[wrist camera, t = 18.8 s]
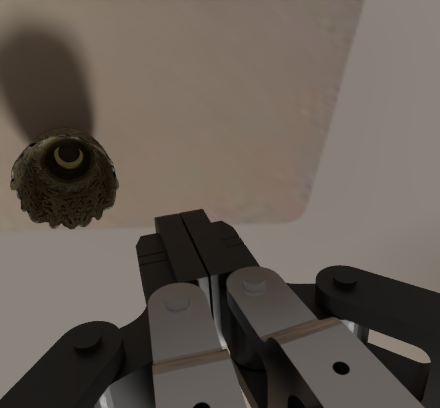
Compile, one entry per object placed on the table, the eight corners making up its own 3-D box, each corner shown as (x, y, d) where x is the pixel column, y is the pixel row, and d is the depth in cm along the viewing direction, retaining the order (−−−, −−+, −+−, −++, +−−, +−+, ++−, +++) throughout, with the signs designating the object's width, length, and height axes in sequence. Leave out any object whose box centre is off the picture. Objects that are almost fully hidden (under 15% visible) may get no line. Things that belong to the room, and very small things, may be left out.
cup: (11, 120, 35) (-6, 148, 28) (99, 104, 36) (103, 126, 30) (39, 199, 38) (30, 241, 31) (119, 180, 40) (127, 217, 33)
